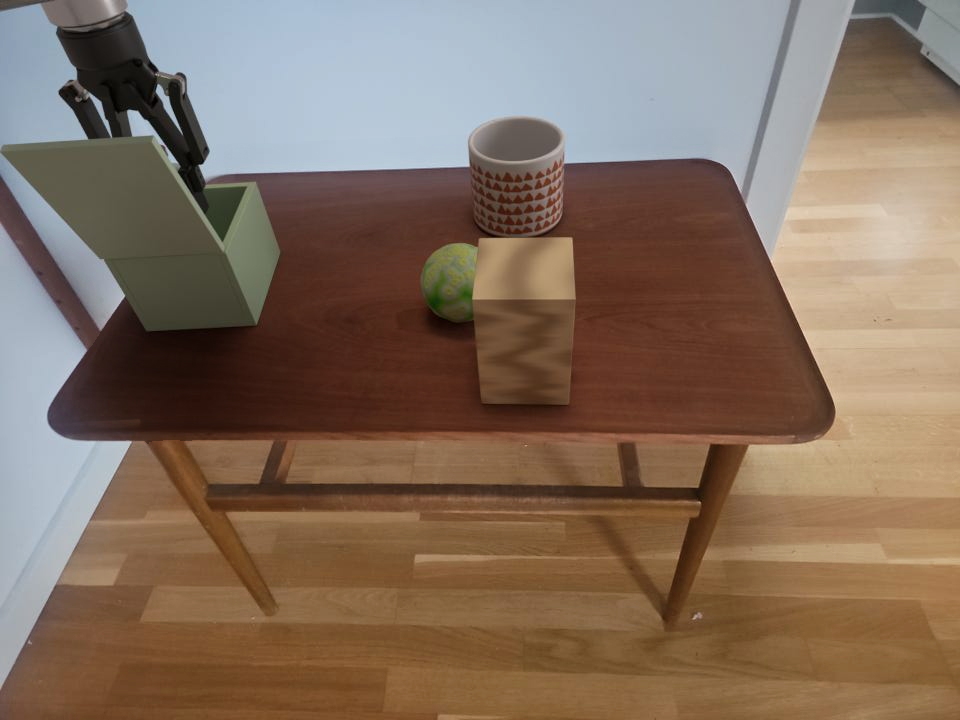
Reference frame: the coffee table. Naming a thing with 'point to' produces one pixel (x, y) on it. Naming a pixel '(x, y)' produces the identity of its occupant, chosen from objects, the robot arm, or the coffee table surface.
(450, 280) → the decorative ball
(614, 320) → the coffee table surface
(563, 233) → the coffee table surface
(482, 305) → the stand
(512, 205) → the planter
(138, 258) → the box
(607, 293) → the coffee table surface
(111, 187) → the lid
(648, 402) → the coffee table surface
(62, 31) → the robot arm
